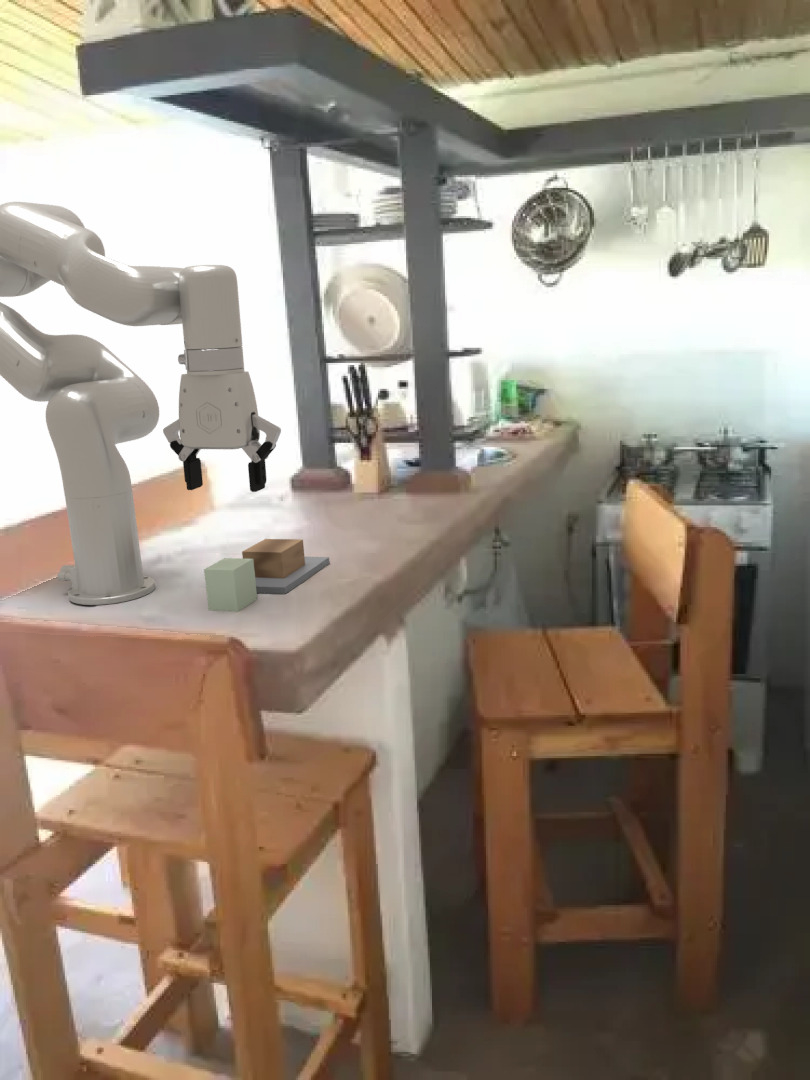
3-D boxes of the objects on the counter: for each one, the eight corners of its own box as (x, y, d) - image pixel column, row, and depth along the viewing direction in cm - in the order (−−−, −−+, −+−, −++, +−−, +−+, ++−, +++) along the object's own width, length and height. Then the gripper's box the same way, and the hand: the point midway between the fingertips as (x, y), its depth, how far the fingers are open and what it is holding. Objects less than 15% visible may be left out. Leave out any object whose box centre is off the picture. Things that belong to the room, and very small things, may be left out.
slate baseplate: (217, 591, 139) (216, 585, 139) (267, 561, 155) (267, 555, 154) (285, 594, 136) (284, 587, 135) (329, 563, 151) (329, 557, 151)
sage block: (208, 610, 130) (204, 569, 129) (229, 597, 136) (225, 557, 134) (237, 612, 129) (233, 570, 127) (257, 599, 134) (253, 558, 133)
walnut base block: (244, 577, 142) (242, 551, 141) (267, 563, 150) (265, 538, 149) (283, 578, 140) (281, 552, 139) (305, 564, 148) (302, 539, 147)
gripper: (142, 365, 123) (156, 493, 128) (260, 363, 118) (271, 496, 122) (173, 361, 130) (185, 482, 134) (286, 359, 125) (295, 485, 129)
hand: (226, 489), depth 128 cm, fingers open, 9 cm apart
